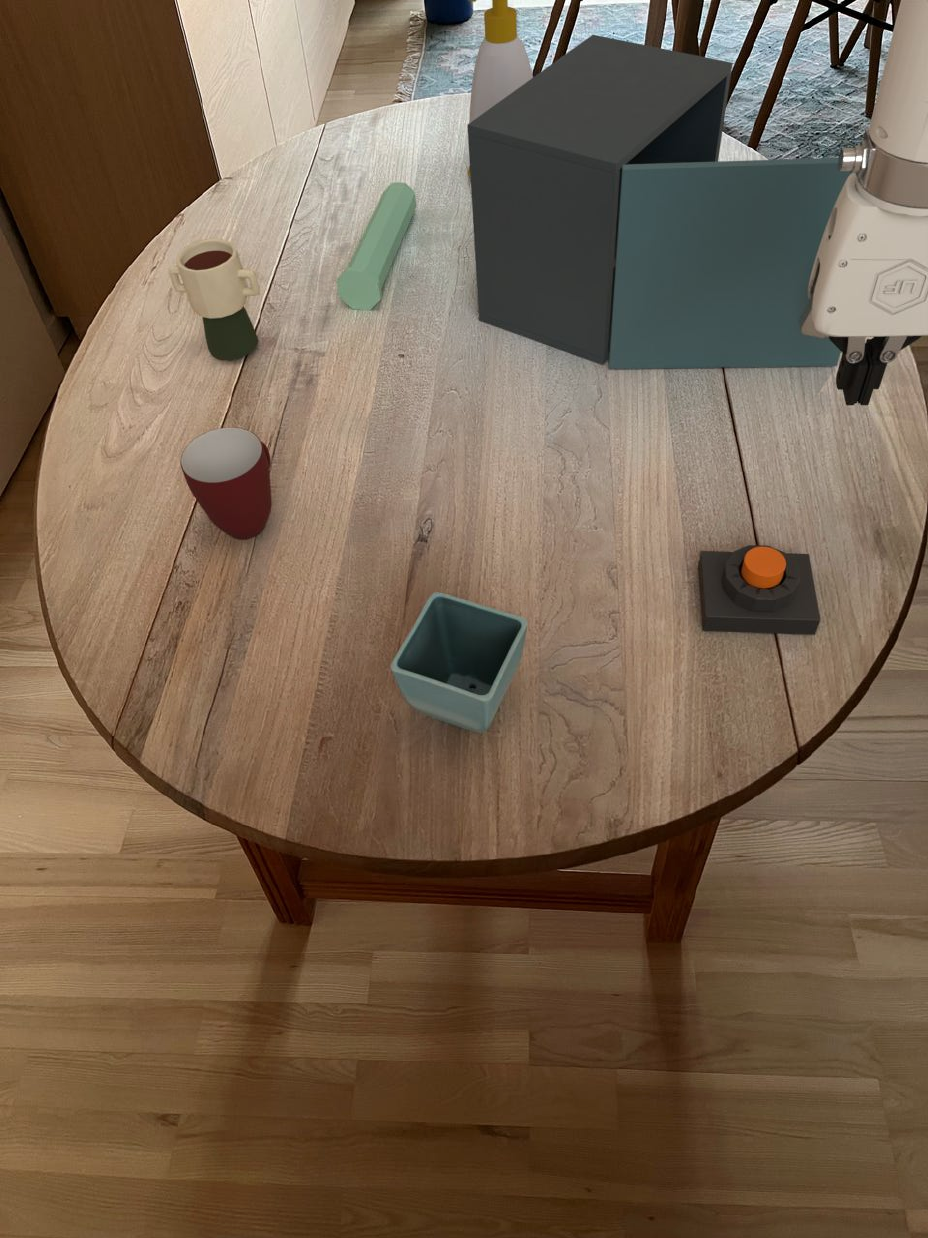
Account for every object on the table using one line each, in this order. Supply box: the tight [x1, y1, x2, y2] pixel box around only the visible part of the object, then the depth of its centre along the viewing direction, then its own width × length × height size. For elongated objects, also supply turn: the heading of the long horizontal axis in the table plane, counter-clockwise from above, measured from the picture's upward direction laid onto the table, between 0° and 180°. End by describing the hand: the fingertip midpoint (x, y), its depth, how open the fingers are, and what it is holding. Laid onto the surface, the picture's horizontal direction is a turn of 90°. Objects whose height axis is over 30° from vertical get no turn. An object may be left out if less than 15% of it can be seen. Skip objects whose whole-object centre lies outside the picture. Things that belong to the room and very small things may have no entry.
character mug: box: [168, 237, 261, 362], centre depth 113 cm, size 11×7×13 cm, turn 79°
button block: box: [697, 544, 821, 636], centre depth 87 cm, size 10×8×4 cm
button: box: [741, 547, 786, 589], centre depth 85 cm, size 4×4×2 cm
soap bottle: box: [467, 0, 534, 180], centre depth 131 cm, size 11×12×26 cm
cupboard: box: [466, 34, 733, 366], centre depth 112 cm, size 18×26×24 cm
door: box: [608, 157, 852, 370], centre depth 99 cm, size 8×26×24 cm, turn 86°
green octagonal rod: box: [335, 182, 417, 311], centre depth 127 cm, size 6×6×25 cm
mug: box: [179, 426, 273, 541], centre depth 96 cm, size 11×8×10 cm
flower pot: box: [389, 591, 529, 734], centre depth 80 cm, size 9×9×9 cm
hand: (854, 393), depth 75 cm, fingers closed
